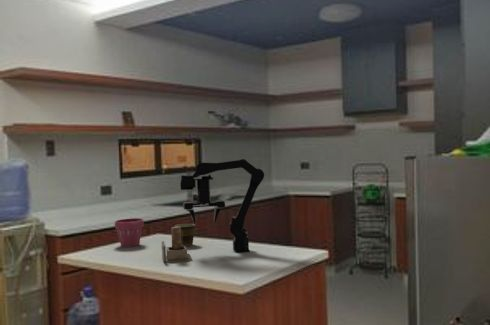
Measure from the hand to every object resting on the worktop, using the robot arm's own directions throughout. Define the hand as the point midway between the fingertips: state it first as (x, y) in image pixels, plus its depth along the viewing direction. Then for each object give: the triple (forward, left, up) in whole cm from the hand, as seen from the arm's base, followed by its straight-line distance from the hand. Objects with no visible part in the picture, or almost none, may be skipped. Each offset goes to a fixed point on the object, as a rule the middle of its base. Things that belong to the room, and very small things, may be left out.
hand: (204, 223), depth 221 cm
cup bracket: (+14, +10, -13) cm, 22 cm away
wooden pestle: (+14, +10, -12) cm, 21 cm away
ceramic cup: (+8, -19, -13) cm, 25 cm away
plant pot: (+34, -31, -13) cm, 48 cm away
